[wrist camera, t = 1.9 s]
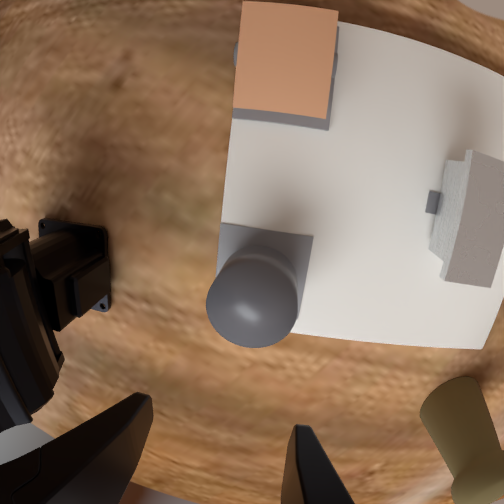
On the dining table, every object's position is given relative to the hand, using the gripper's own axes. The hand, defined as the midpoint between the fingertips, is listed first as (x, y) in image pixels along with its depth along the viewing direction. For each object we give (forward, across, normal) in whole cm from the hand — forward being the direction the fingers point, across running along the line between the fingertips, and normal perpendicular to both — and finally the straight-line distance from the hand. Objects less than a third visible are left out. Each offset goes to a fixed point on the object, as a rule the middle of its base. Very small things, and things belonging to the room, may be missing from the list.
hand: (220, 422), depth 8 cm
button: (+10, 0, 0) cm, 10 cm away
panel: (+13, -7, -6) cm, 16 cm away
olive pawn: (+13, -18, +10) cm, 25 cm away
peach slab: (+8, 0, -11) cm, 14 cm away
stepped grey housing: (+11, -10, -6) cm, 16 cm away
